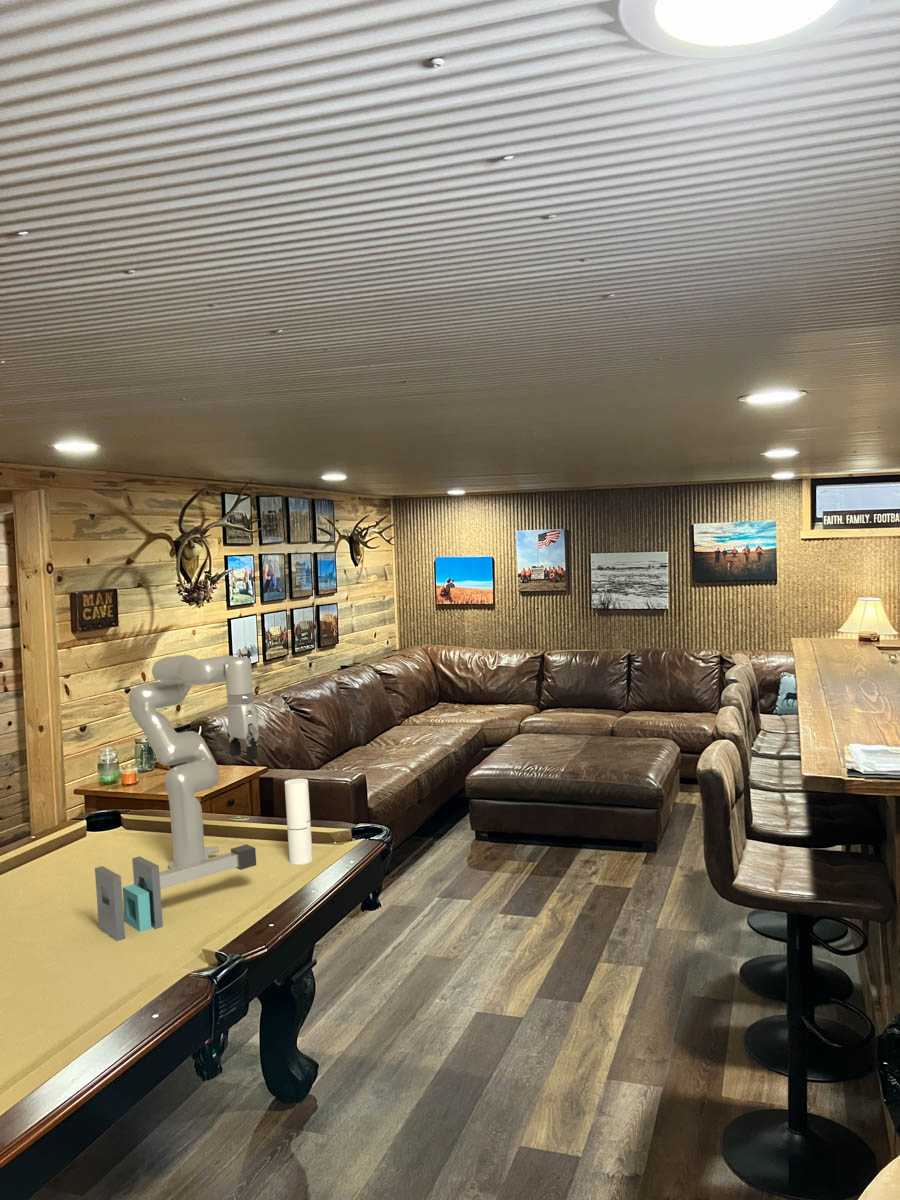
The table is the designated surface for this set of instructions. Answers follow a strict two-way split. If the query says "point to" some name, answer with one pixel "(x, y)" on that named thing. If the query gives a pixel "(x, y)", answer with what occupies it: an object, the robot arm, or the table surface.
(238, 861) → the shaft
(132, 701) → the robot arm
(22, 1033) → the table surface
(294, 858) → the cylindrical container
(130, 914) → the spacer
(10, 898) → the table surface
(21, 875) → the table surface
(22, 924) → the table surface
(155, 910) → the pair of grey plates
